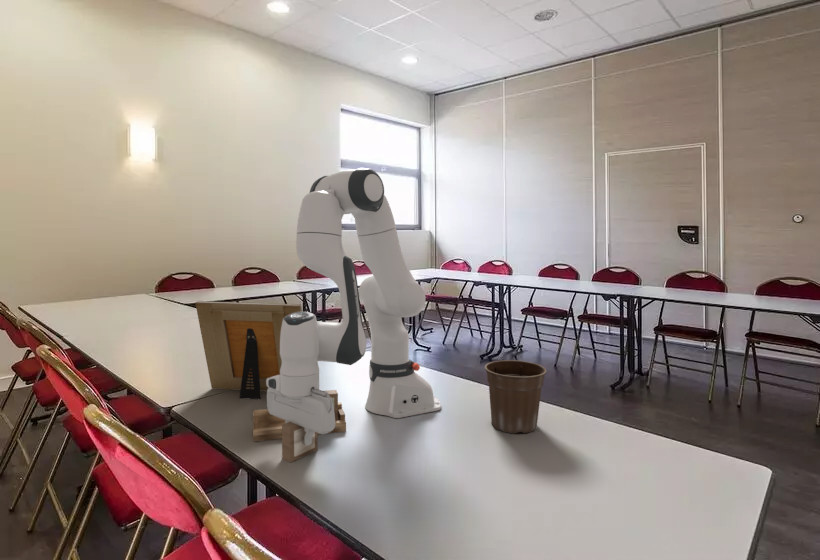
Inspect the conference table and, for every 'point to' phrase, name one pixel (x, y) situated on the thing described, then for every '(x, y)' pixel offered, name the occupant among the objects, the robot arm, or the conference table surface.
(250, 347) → the picture frame
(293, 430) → the walnut frame
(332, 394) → the frame
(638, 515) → the conference table surface
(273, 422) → the oak rail
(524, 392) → the plant pot
